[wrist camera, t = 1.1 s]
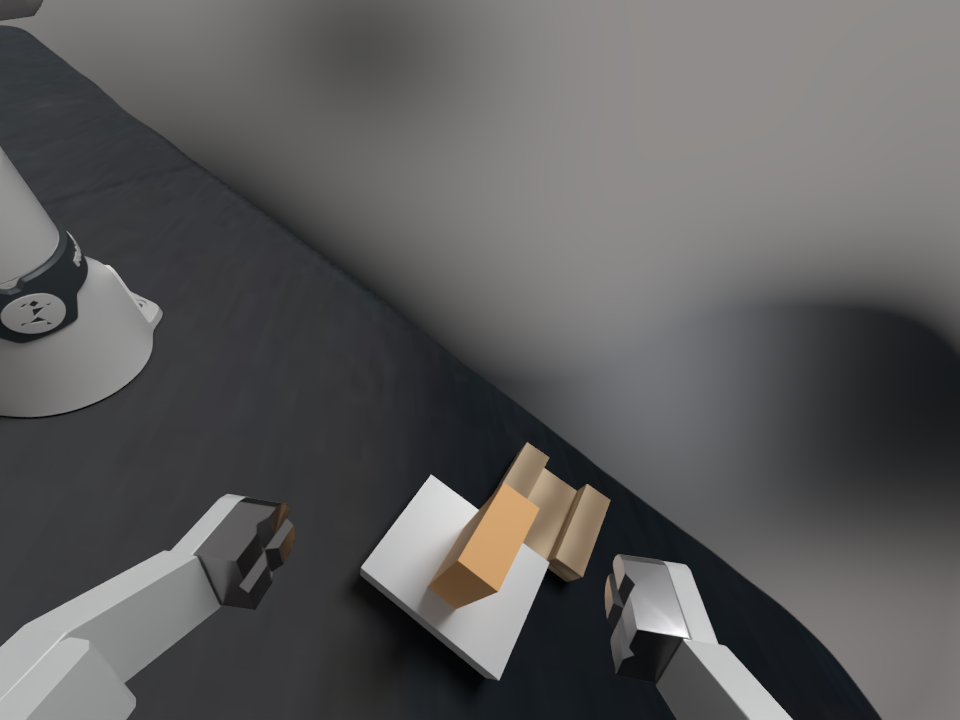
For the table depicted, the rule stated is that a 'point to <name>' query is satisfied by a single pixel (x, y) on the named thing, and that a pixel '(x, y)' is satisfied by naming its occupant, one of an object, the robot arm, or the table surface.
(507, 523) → the orange rectangular block
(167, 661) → the table surface
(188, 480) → the table surface
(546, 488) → the rack
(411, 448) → the table surface
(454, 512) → the block
